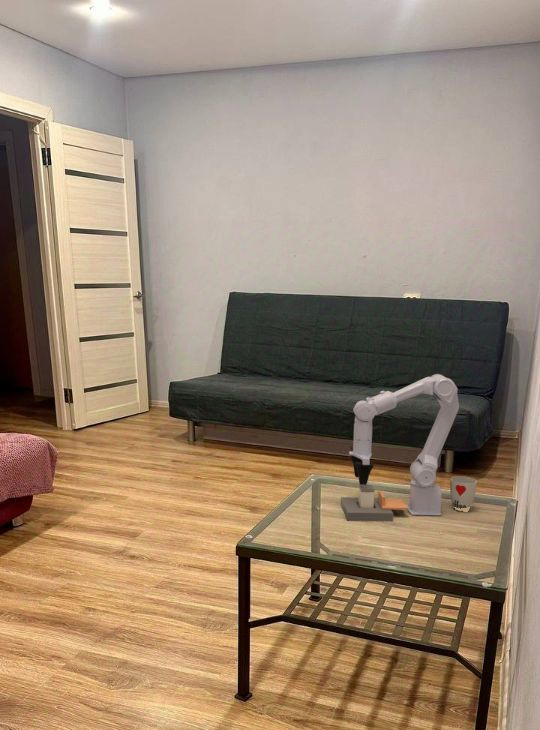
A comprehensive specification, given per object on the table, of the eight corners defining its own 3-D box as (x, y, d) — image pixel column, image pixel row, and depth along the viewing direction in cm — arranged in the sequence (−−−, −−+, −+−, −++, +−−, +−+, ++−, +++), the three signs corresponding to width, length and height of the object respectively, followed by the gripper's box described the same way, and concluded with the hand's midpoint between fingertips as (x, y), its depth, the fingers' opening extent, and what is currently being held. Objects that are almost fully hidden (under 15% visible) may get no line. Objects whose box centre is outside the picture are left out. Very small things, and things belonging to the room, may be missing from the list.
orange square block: (401, 500, 192) (402, 490, 191) (408, 509, 184) (408, 498, 183) (377, 500, 191) (377, 489, 191) (382, 509, 184) (383, 498, 183)
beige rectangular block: (370, 509, 190) (371, 485, 189) (373, 514, 186) (374, 489, 185) (358, 509, 190) (359, 485, 189) (360, 513, 186) (361, 489, 185)
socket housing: (383, 505, 195) (383, 497, 195) (392, 521, 181) (393, 513, 181) (340, 504, 194) (340, 497, 194) (347, 520, 181) (347, 512, 180)
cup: (443, 507, 194) (445, 477, 193) (461, 503, 198) (462, 474, 197) (462, 515, 187) (464, 485, 186) (480, 511, 191) (482, 481, 190)
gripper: (346, 433, 195) (344, 473, 196) (354, 444, 180) (352, 487, 182) (367, 433, 195) (365, 474, 197) (377, 444, 181) (375, 488, 182)
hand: (360, 480), depth 189 cm, fingers open, 7 cm apart
